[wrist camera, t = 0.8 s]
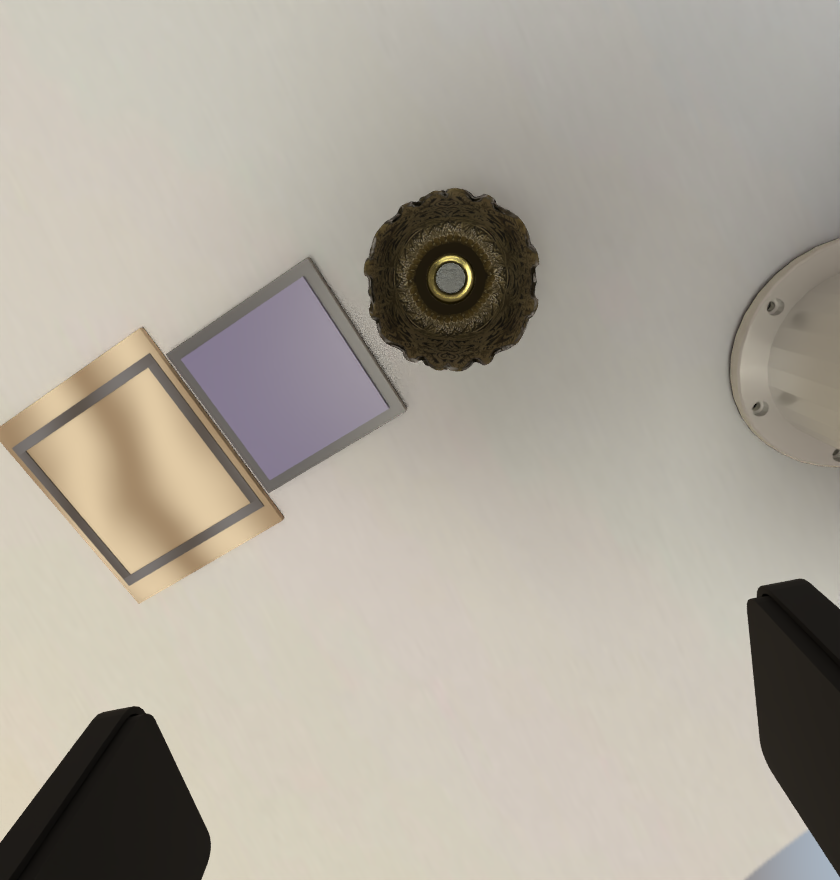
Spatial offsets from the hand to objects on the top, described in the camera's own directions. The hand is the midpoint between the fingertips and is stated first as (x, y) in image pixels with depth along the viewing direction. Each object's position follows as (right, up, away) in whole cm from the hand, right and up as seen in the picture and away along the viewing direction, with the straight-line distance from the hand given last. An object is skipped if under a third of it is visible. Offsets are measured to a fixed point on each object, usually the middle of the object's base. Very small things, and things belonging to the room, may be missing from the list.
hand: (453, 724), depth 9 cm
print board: (-18, +2, +27) cm, 33 cm away
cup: (+1, +13, +23) cm, 27 cm away
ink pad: (-8, +8, +25) cm, 27 cm away
